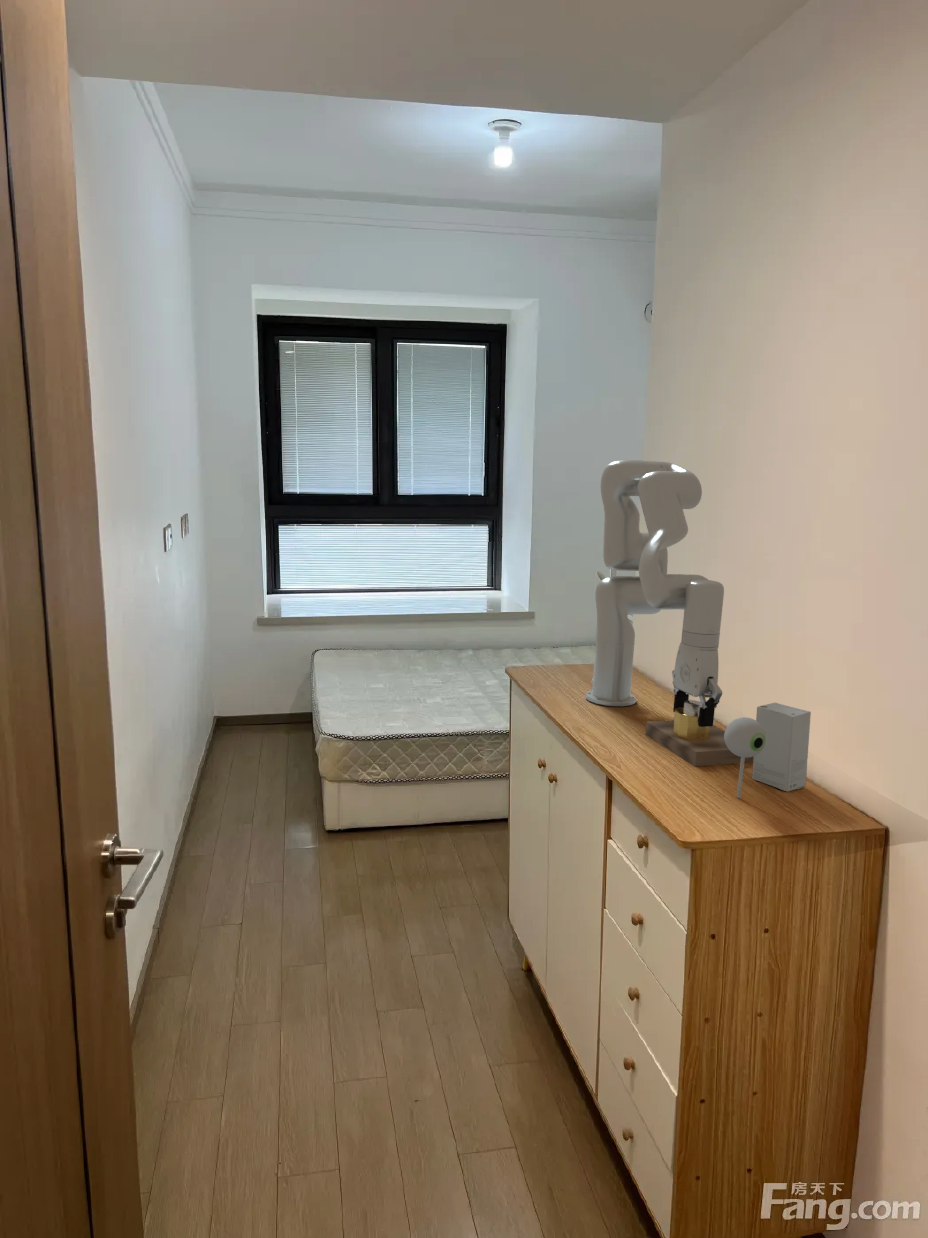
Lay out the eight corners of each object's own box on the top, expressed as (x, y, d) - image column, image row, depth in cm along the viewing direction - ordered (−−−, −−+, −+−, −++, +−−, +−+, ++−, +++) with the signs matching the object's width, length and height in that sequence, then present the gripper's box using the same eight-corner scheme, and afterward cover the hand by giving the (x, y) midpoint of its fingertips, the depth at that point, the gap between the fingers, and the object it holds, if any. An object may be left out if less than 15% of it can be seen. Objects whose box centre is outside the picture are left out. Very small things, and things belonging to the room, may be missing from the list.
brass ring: (666, 730, 180) (668, 707, 179) (696, 728, 182) (698, 706, 181) (684, 741, 173) (687, 717, 172) (715, 739, 175) (717, 716, 175)
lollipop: (736, 807, 147) (745, 725, 145) (709, 792, 154) (717, 714, 151) (767, 802, 150) (777, 722, 148) (740, 788, 157) (748, 711, 154)
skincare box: (805, 787, 158) (815, 712, 156) (785, 793, 155) (795, 716, 152) (768, 773, 165) (776, 700, 163) (748, 778, 162) (756, 704, 159)
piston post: (677, 732, 179) (680, 700, 178) (694, 731, 180) (697, 700, 179) (687, 738, 175) (690, 706, 174) (704, 737, 176) (707, 705, 175)
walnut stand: (645, 734, 186) (646, 721, 186) (700, 731, 190) (701, 718, 190) (694, 766, 167) (696, 752, 167) (754, 762, 171) (756, 748, 171)
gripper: (662, 631, 181) (656, 708, 184) (707, 649, 165) (699, 732, 168) (693, 631, 183) (686, 706, 186) (740, 648, 167) (732, 730, 170)
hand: (692, 719), depth 177 cm, fingers open, 9 cm apart
